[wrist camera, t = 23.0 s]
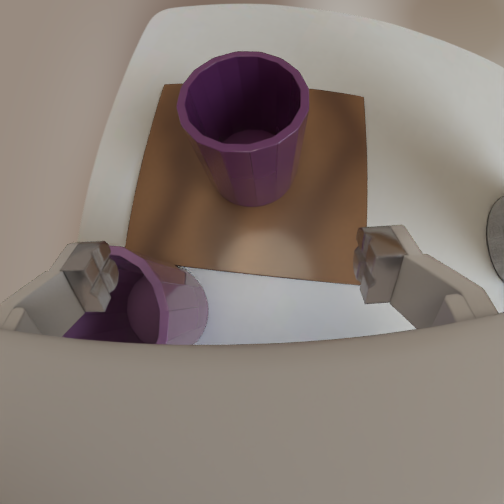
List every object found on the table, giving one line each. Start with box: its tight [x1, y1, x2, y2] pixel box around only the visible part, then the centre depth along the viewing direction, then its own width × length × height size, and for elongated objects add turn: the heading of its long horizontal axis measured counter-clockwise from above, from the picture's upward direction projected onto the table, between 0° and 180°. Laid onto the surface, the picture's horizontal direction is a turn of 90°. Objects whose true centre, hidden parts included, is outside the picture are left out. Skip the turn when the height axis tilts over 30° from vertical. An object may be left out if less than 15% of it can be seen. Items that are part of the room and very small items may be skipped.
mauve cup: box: [62, 246, 208, 345], centre depth 20 cm, size 7×7×10 cm
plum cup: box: [176, 51, 309, 207], centre depth 20 cm, size 7×7×10 cm
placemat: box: [125, 84, 367, 285], centre depth 26 cm, size 20×18×1 cm
